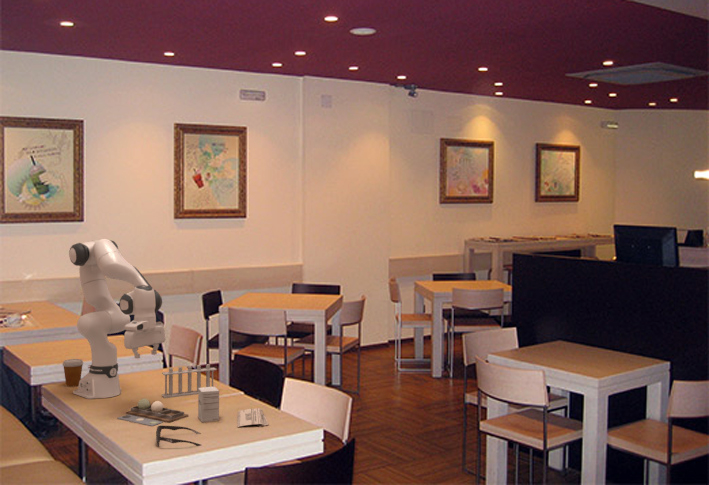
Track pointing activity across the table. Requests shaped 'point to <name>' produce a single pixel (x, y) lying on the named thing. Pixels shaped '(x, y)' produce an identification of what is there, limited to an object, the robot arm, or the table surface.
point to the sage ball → (143, 404)
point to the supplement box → (208, 404)
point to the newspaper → (251, 417)
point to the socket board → (158, 414)
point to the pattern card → (140, 420)
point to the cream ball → (157, 407)
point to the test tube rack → (188, 380)
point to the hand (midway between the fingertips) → (145, 356)
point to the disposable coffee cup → (72, 371)
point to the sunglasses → (170, 438)
